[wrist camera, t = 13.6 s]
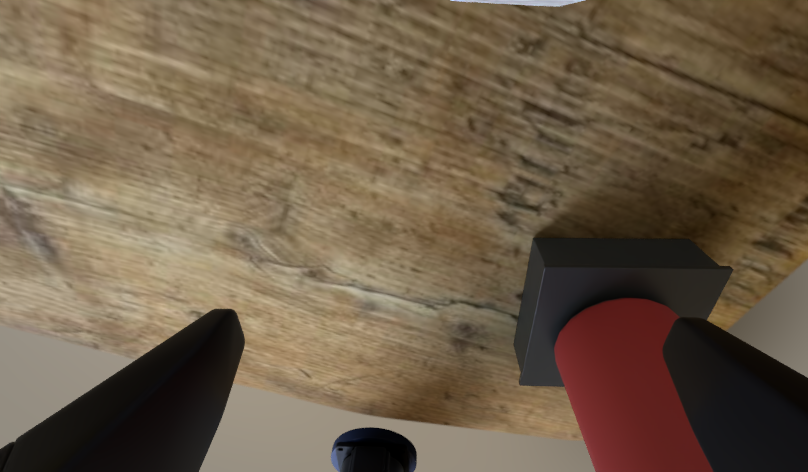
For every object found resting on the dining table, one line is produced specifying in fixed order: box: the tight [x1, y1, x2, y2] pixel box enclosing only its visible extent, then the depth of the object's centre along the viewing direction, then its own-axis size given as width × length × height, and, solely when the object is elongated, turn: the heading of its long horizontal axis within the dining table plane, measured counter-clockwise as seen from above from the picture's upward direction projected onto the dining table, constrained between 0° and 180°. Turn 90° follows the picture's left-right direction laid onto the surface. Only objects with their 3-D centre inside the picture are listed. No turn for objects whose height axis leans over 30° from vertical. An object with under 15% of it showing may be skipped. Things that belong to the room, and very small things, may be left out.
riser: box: [514, 238, 733, 387], centre depth 22 cm, size 9×9×3 cm
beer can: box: [554, 298, 713, 472], centre depth 16 cm, size 7×7×12 cm
